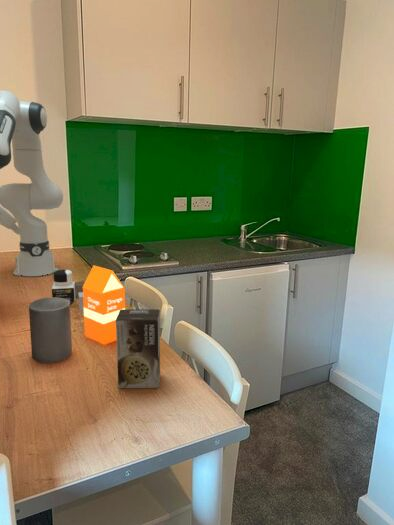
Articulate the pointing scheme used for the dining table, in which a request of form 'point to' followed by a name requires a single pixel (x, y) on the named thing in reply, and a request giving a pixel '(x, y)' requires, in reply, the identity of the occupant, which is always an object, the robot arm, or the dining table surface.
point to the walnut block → (78, 288)
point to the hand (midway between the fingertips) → (20, 232)
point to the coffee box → (138, 348)
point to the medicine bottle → (64, 286)
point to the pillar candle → (50, 329)
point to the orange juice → (102, 304)
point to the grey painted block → (81, 301)
